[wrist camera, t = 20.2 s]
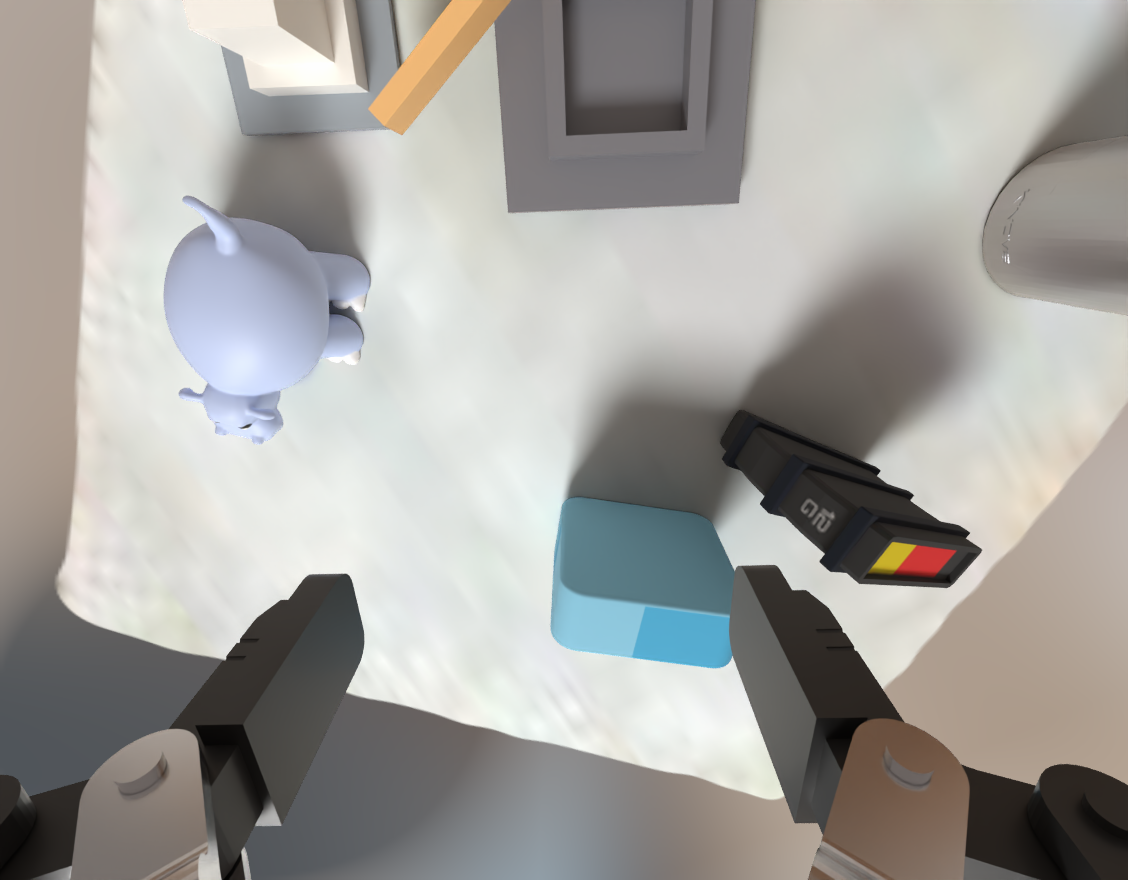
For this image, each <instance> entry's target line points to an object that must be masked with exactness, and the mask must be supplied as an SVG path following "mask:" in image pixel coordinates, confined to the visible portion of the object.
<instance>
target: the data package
mask: <svg viewBox="0 0 1128 880" xmlns="http://www.w3.org/2000/svg"><path fill="white" fill-rule="evenodd" d="M734 574H735V571H734V569H733V567H732V565H731V563H730V561H729V558H728V556H727V554H726V552H725V550H724V548H723V546H722V543H721V541H720V539H719V537H718V535H717V533H716V531H715V528H714V526H713V525H712V523H711V522H710V521H709V520H707V519H706V518H704V517H702V516H700V515H697V514H694V513H689V512H682V511H675V510H668V509H661V508H654V507H647V506H640V505H633V504H626V503H619V502H612V501H605V500H598V499H591V498H583V497H574V498H570V499H568V500H566V501H565V502H564V503H563V505H562V510H561V516H560V521H559V527H558V533H557V539H556V544H555V551H554V571H553V590H552V609H551V633H552V635H553V637H554V639H555V640H556V641H557V642H558V643H559V644H560V645H562V646H564V647H565V648H568V649H571V650H575V651H582V652H590V653H598V654H606V655H614V656H621V657H629V658H637V659H645V660H653V661H660V662H668V663H676V664H684V665H692V666H700V667H707V668H721V667H724V666H726V665H727V664H728V663H729V662H730V660H731V658H732V655H733V654H732V651H731V646H730V639H729V621H730V611H731V602H732V592H733V583H734Z"/></svg>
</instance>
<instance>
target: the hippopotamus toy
mask: <svg viewBox="0 0 1128 880" xmlns="http://www.w3.org/2000/svg"><path fill="white" fill-rule="evenodd" d="M183 202H184V203H185V204H187V205H188V206H190V207H192V208H194V209H195V210H197V211H198V212H199V213H200V214H201V215H202V216H203V217H204V219H205V220H206V222H207V223H205V224H203V225H201V226H199V227H197V228H195V229H194V230H192V231H191V232H190V233H188V234H187V235H186V236H185V237H184V238H183V239H182V240H181V242H180V243H179V244H178V246H177V247H176V249H175V250H174V252H173V254H172V257H171V259H170V262H169V265H168V268H167V272H166V277H165V284H164V309H165V315H166V320H167V324H168V327H169V330H170V333H171V335H172V337H173V340H174V342H175V344H176V345H177V347H178V349H179V351H180V352H181V354H182V355H183V357H184V358H185V359H186V361H187V362H188V363H189V364H190V365H191V367H192V368H193V369H194V370H195V371H196V372H197V373H198V374H199V375H200V376H201V377H202V378H203V379H204V380H205V381H207V382H208V384H207V386H206V388H205V391H204V392H203V393H202V394H197V393H195V392H193V391H192V390H191V389H189V388H183V389H181V390H180V391H179V396H180V398H182V399H184V400H188V401H196V402H201V403H203V405H204V407H205V409H206V412H207V415H208V417H209V419H210V420H212V421H213V422H214V424H215V425H216V430H215V433H216V434H218V435H226V434H233V435H236V436H240V437H244V438H248V439H252V442H253V443H254V444H262V443H263V442H264V441H268V440H270V439H271V438H272V437H273V436H274V435H275V433H276V432H277V431H279V430H280V429H281V428H282V426H283V419H282V416H281V414H280V412H279V411H278V409H277V404H278V402H279V398H280V390H283V389H286V388H288V387H290V386H292V385H293V384H295V383H297V382H298V381H300V380H301V379H302V378H304V377H305V376H306V375H307V374H308V373H309V372H310V371H311V370H312V369H313V368H314V366H315V365H316V364H317V362H318V361H319V359H320V358H328V359H329V360H330V361H333V362H341V361H342V360H344V361H345V362H346V363H348V364H351V365H356V364H357V363H358V362H359V359H360V352H359V351H360V348H361V347H362V344H363V334H362V332H361V330H360V328H359V326H358V325H357V324H356V323H355V322H354V321H352V320H351V319H349V318H347V317H345V316H342V315H338V314H329V302H330V301H332V304H333V305H334V306H335V307H336V308H339V309H347V308H348V307H349V306H351V307H352V308H353V309H354V310H355V311H357V312H362V311H363V310H364V304H365V299H366V293H367V292H368V290H369V286H370V276H369V273H368V271H367V269H366V268H365V266H364V265H363V264H362V263H361V262H360V261H358V260H357V259H355V258H353V257H351V256H348V255H343V254H334V253H324V252H314V251H308V250H307V249H306V248H305V246H304V245H303V244H302V243H301V242H300V241H299V240H297V239H296V238H295V237H294V236H292V235H291V234H289V233H288V232H286V231H284V230H282V229H280V228H277V227H275V226H272V225H269V224H266V223H263V222H259V221H255V220H251V219H245V218H228V217H227V216H226V215H224V214H222V213H221V212H219V211H217V210H215V209H213V208H211V207H209V206H208V205H206V204H205V203H203V202H201V201H200V200H198V199H196V198H194V197H192V196H185V197H184V198H183Z"/></svg>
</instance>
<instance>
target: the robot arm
mask: <svg viewBox="0 0 1128 880" xmlns="http://www.w3.org/2000/svg"><path fill="white" fill-rule="evenodd" d="M982 246H983V259H984V262H985V265H986V269H987V272H988V273H989V275H990V276H991V278H992V279H993V281H994V282H995V283H996V284H997V285H998V286H999V287H1001V288H1002V289H1003V290H1004V291H1006V292H1009V293H1011V294H1013V295H1015V296H1019V297H1025V298H1031V299H1036V300H1042V301H1048V302H1053V303H1059V304H1064V305H1070V306H1074V307H1080V308H1086V309H1092V310H1098V311H1104V312H1109V313H1115V314H1121V315H1127V316H1128V135H1127V136H1121V137H1114V138H1108V139H1101V140H1095V141H1088V142H1082V143H1075V144H1071V145H1067V146H1063V147H1059V148H1057V149H1055V150H1052V151H1050V152H1048V153H1046V154H1044V155H1042V156H1040V157H1039V158H1037V159H1036V160H1034V161H1033V162H1031V163H1030V164H1028V165H1027V166H1025V167H1024V168H1023V169H1022V170H1021V171H1020V172H1019V173H1018V174H1017V175H1016V176H1015V177H1014V178H1013V179H1012V180H1011V181H1010V182H1009V183H1008V185H1007V186H1006V187H1005V189H1004V190H1003V191H1002V192H1001V194H1000V195H999V197H998V199H997V200H996V202H995V204H994V206H993V208H992V209H991V211H990V214H989V217H988V220H987V223H986V226H985V229H984V236H983V243H982ZM729 639H730V646H731V651H732V654H733V658H734V661H735V663H736V666H737V669H738V671H739V674H740V677H741V679H742V682H743V685H744V687H745V690H746V693H747V696H748V698H749V701H750V704H751V706H752V709H753V712H754V714H755V717H756V720H757V723H758V725H759V728H760V731H761V733H762V736H763V739H764V741H765V744H766V747H767V750H768V752H769V755H770V758H771V760H772V763H773V766H774V768H775V771H776V774H777V776H778V779H779V782H780V785H781V787H782V790H783V793H784V795H785V798H786V801H787V803H788V806H789V809H790V811H791V814H792V817H793V820H794V822H795V823H818V824H819V827H820V829H821V832H822V834H823V837H822V841H821V845H820V847H819V848H818V850H817V852H816V855H815V858H814V861H813V864H812V868H811V871H810V874H809V878H808V880H1128V785H1126V784H1125V783H1123V782H1121V781H1119V780H1117V779H1115V778H1113V777H1111V776H1109V775H1106V774H1104V773H1102V772H1099V771H1096V770H1093V769H1090V768H1087V767H1082V766H1078V765H1069V764H1059V765H1054V766H1051V767H1049V768H1047V769H1045V771H1044V772H1043V773H1042V774H1041V776H1040V778H1039V780H1038V783H1037V785H1036V786H1035V785H1031V784H1027V783H1023V782H1020V781H1016V780H1012V779H1009V778H1005V777H1001V776H997V775H993V774H990V773H986V772H982V771H978V770H975V769H972V768H969V767H966V766H964V765H961V764H960V762H959V761H958V760H957V758H956V757H955V756H954V755H953V754H952V753H951V751H950V750H949V749H948V748H947V747H945V746H944V745H943V744H942V743H941V742H940V741H938V740H937V739H936V738H934V737H933V736H931V735H930V734H928V733H927V732H925V731H923V730H921V729H919V728H917V727H915V726H913V725H910V724H908V723H905V722H904V721H903V720H902V718H901V717H900V715H899V713H898V712H897V710H896V709H895V707H894V706H893V704H892V703H891V701H890V700H889V698H888V697H887V695H886V694H885V692H884V691H883V689H882V688H881V686H880V685H879V683H878V682H877V680H876V679H875V677H874V676H873V674H872V673H871V671H870V670H869V668H868V667H867V665H866V664H865V662H864V661H863V659H862V658H861V656H860V655H859V653H858V652H857V651H855V650H854V646H853V644H852V643H851V641H850V640H849V638H848V637H847V635H846V634H845V633H843V632H842V628H841V626H840V625H839V623H838V622H837V620H836V619H835V617H834V616H833V614H832V612H831V611H830V609H829V608H828V607H827V606H825V605H824V604H823V603H822V602H820V601H819V600H818V599H817V598H815V597H814V596H813V595H811V594H810V593H809V592H808V591H806V590H792V589H791V588H790V586H789V584H788V583H787V581H786V579H785V578H784V576H783V574H782V573H781V571H780V569H779V568H778V567H777V566H776V565H757V566H738V567H737V568H736V570H735V574H734V583H733V592H732V602H731V611H730V621H729ZM363 649H364V630H363V625H362V621H361V617H360V613H359V608H358V604H357V600H356V596H355V591H354V587H353V583H352V580H351V578H350V576H349V575H348V574H312V575H308V576H307V577H305V579H304V580H303V581H302V582H301V584H300V585H299V586H298V588H297V589H296V590H295V592H294V593H293V594H292V596H291V597H290V598H289V600H280V601H279V602H278V603H276V604H275V605H274V606H272V607H271V608H270V609H268V610H267V611H265V612H264V613H263V614H261V615H260V616H259V617H257V618H256V620H255V621H254V622H253V623H252V625H251V626H250V627H249V628H248V630H247V631H246V632H245V633H244V635H243V636H242V637H241V638H240V643H236V645H235V646H234V647H233V649H232V650H231V651H230V652H229V654H228V655H227V656H226V661H222V662H221V664H220V665H219V666H218V667H217V669H216V670H215V671H214V673H213V674H212V675H211V676H210V678H209V679H208V680H207V681H206V683H205V684H204V685H203V686H202V688H201V689H200V690H199V691H198V693H197V694H196V695H195V696H194V698H193V699H192V700H191V702H190V703H189V704H188V705H187V706H186V708H185V709H184V710H183V712H182V713H181V714H180V715H179V717H178V718H177V719H176V721H175V722H174V723H173V724H172V726H171V727H170V728H169V729H168V730H163V731H159V732H155V733H152V734H150V735H147V736H145V737H142V738H140V739H138V740H136V741H135V742H132V743H131V744H129V745H127V746H126V747H124V748H123V749H121V750H120V751H118V752H117V753H116V754H114V755H113V756H112V757H111V758H110V759H108V760H107V761H106V762H105V763H104V764H103V765H102V766H101V767H100V768H99V769H98V770H97V771H96V772H95V773H94V775H93V776H92V777H91V778H90V779H89V780H85V781H82V782H78V783H75V784H72V785H68V786H64V787H61V788H58V789H54V790H51V791H47V792H44V793H40V794H37V795H33V796H30V797H29V796H28V795H27V793H26V792H25V790H24V789H23V787H22V785H21V784H20V782H19V781H18V779H16V778H15V777H13V776H9V775H0V880H251V876H250V870H249V863H248V858H247V854H246V851H245V848H244V845H245V843H246V842H247V840H248V838H249V836H250V833H251V831H252V830H253V828H254V826H282V824H283V822H284V820H285V818H286V816H287V813H288V811H289V809H290V807H291V805H292V803H293V801H294V799H295V797H296V795H297V793H298V790H299V788H300V786H301V784H302V782H303V780H304V778H305V776H306V774H307V772H308V770H309V768H310V766H311V763H312V761H313V759H314V757H315V755H316V753H317V751H318V749H319V747H320V745H321V743H322V740H323V738H324V736H325V734H326V732H327V730H328V728H329V726H330V724H331V722H332V720H333V718H334V715H335V713H336V711H337V709H338V707H339V705H340V703H341V701H342V699H343V697H344V695H345V693H346V690H347V688H348V686H349V684H350V682H351V680H352V678H353V676H354V674H355V672H356V670H357V668H358V665H359V663H360V661H361V658H362V654H363Z"/></svg>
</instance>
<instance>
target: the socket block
mask: <svg viewBox="0 0 1128 880" xmlns="http://www.w3.org/2000/svg"><path fill="white" fill-rule="evenodd" d="M755 2H756V0H511V1H510V3H509V4H508V5H507V6H506V8H505V9H504V10H503V11H502V12H501V14H500V15H499V16H498V17H497V19H496V20H495V21H494V22H495V36H496V50H497V64H498V78H499V92H500V106H501V120H502V134H503V147H504V161H505V175H506V189H507V203H508V213H525V212H549V211H574V210H598V209H622V208H647V207H671V206H696V205H720V204H735V203H739V194H740V182H741V170H742V158H743V146H744V134H745V122H746V110H747V98H748V86H749V74H750V62H751V50H752V38H753V26H754V14H755Z"/></svg>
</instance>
